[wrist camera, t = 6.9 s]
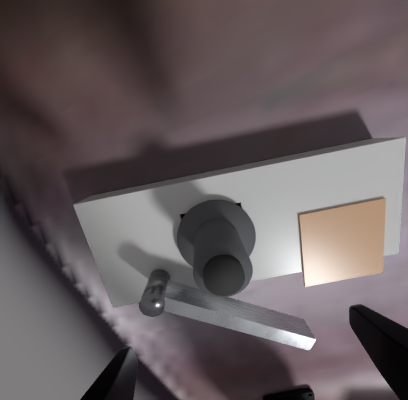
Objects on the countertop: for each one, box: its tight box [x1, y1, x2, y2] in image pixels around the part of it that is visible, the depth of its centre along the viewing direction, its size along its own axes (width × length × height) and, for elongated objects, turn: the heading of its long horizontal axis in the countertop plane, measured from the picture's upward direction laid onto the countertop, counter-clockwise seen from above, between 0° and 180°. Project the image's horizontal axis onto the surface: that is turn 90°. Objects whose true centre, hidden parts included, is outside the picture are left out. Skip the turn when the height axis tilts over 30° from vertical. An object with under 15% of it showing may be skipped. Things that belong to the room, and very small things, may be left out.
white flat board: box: [73, 137, 406, 307], centre depth 19 cm, size 12×26×3 cm, turn 101°
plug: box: [177, 200, 256, 297], centre depth 16 cm, size 6×6×9 cm
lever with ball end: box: [139, 269, 316, 350], centre depth 17 cm, size 2×14×3 cm, turn 70°
